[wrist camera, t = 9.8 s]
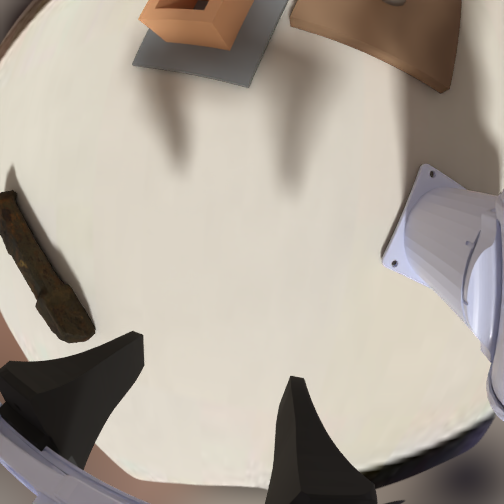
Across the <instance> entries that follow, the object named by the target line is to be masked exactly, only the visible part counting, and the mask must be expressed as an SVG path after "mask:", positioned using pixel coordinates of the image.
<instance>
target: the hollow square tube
mask: <svg viewBox="0 0 504 504" xmlns="http://www.w3.org/2000/svg"><path fill="white" fill-rule="evenodd" d="M197 1H198V0H149V1H148V2H147V4H146V6H145V8H144V9H143V11H142V13H141V15H140V17H139V19H138V20H140V21H141V22H142V23H143V24H145V25H146V26H147V27H149V28H150V29H151V30H152V31H153V32H155V33H156V34H157V35H158V36H160V37H161V38H162V39H163V40H164V41H166V42H171V43H181V44H190V45H198V46H205V47H212V48H218V49H223V50H229V51H230V50H231V47H232V45H233V43H234V41H235V39H236V36H237V34H238V32H239V30H240V28H241V26H242V24H243V22H244V20H245V18H246V15H247V13H248V11H249V9H250V7H251V6H252V4H253V2H254V0H203V1H209V2H208V4H207V6H206V7H205V9H204V10H194V9H193V8H194V6H195V5H196V3H197Z"/></svg>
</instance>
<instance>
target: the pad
mask: <svg viewBox="0 0 504 504" xmlns="http://www.w3.org/2000/svg"><path fill="white" fill-rule="evenodd" d="M288 1H289V0H254V2H253V4H252V6H251V7H250V9H249V11H248V13H247V15H246V18H245V20H244V22H243V24H242V26H241V28H240V30H239V32H238V34H237V36H236V39H235V41H234V43H233V45H232V47H231V50H230V51H229V50H223V49H218V48H212V47H205V46H198V45H190V44H181V43H171V42H166V41H164V40H163V39H162V38H161V37H160V36H158V35H157V34H156V33H155V32H153V31H152V30H151V29H150V28H149V30H148V32H147V34H146V36H145V38H144V40H143V42H142V44H141V46H140V48H139V50H138V52H137V54H136V57H135V59H134V61H133V63H132V65H133V66H139V67H147V68H155V69H162V70H169V71H175V72H181V73H186V74H192V75H197V76H202V77H206V78H211V79H215V80H220V81H224V82H228V83H232V84H236V85H239V86H243V87H247V88H249V86H250V84H251V82H252V79H253V77H254V74H255V72H256V70H257V67H258V65H259V63H260V61H261V58H262V56H263V54H264V51H265V49H266V47H267V45H268V43H269V40H270V38H271V36H272V34H273V32H274V30H275V27H276V25H277V23H278V21H279V19H280V17H281V15H282V13H283V11H284V9H285V7H286V5H287V3H288ZM208 2H209V1H203V0H198V1H197V3H196V5H195V6H194V8H193V9H194V10H204V9H205V7H206V6H207V4H208Z"/></svg>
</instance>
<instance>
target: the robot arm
mask: <svg viewBox="0 0 504 504" xmlns="http://www.w3.org/2000/svg"><path fill="white" fill-rule="evenodd" d="M431 171H432V172H433V177H432V178H431V176H430V172H431ZM394 260H396V264H395V265H394V266H392V265H391V264H392V262H393V261H394ZM382 264H383V265H384V266H385V267H386V268H389V269H391V270H393V271H395V272H397V273H399V274H402V275H404V276H406V277H408V278H410V279H412V280H414V281H417V282H419V283H421V284H423V285H425V286H427V287H429V288H431V289H432V290H433V291H434V292H435V293H436V294H437V295H438V296H439V297H440V298H441V299H442V300H443V301H444V302H445V303H446V304H447V305H448V306H449V307H450V308H451V309H452V310H453V311H454V312H455V313H456V314H457V316H458V317H459V318H460V319H461V320H462V321H463V322H464V323H465V324H466V325H467V327H468V328H469V329H470V330H471V331H472V332H473V333H474V335H475V336H476V337H477V338H478V339H479V340H480V343H481V351H482V352H483V353H484V355H485V356H486V357H487V358H488V360H489V361H490V362H492V363H491V367H490V370H489V373H488V377H487V396H488V400H489V402H490V405H491V407H492V409H493V410H494V412H495V413H496V414H497V416H498V417H499V418H500V419H501V420H503V421H504V189H503V191H502V192H501V193H500V194H499V195H498V196H497V195H492V194H487V193H481V192H476V191H470V190H467V189H465V188H464V187H463V186H461V185H460V184H458V183H457V182H455V181H454V180H452V179H451V178H449V177H448V176H446V175H445V174H443V173H442V172H440V171H439V170H437V169H436V168H434V167H432V166H431V165H429V164H422V165H421V166H420V169H419V171H418V174H417V177H416V180H415V182H414V185H413V188H412V190H411V193H410V195H409V198H408V200H407V203H406V205H405V208H404V210H403V212H402V215H401V217H400V220H399V222H398V224H397V226H396V229H395V231H394V233H393V235H392V238H391V240H390V242H389V244H388V246H387V248H386V250H385V253H384V255H383V257H382ZM143 367H144V345H143V335H142V334H139V333H137V332H134V331H132V332H129V333H127V334H125V335H123V336H120V337H118V338H116V339H114V340H112V341H109V342H107V343H105V344H103V345H100V346H98V347H95V348H93V349H90V350H87V351H85V352H82V353H79V354H76V355H72V356H68V357H64V358H59V359H53V360H47V361H34V362H21V361H9V362H8V363H6V365H4V366H3V367H2V368H0V392H1V394H2V396H3V397H4V399H5V401H6V402H5V403H4V404H3V405H2V403H1V402H0V463H2V465H3V466H4V467H5V468H6V469H7V470H9V472H11V473H12V474H13V475H14V476H15V477H16V478H17V479H18V480H19V481H20V482H21V483H23V484H24V485H25V486H26V487H27V488H28V489H30V490H31V491H32V492H33V493H34V494H36V495H37V498H36V499H35V500H34V501H33V503H32V504H150V503H147V502H145V501H142V500H140V499H138V498H136V497H133V496H131V495H129V494H127V493H125V492H122V491H120V490H118V489H116V488H114V487H112V486H110V485H108V484H106V483H105V482H103V481H101V480H99V479H97V478H95V477H94V476H92V475H90V474H88V473H86V472H85V471H83V470H84V467H85V464H86V462H87V459H88V457H89V454H90V452H91V450H92V448H93V446H94V444H95V441H96V439H97V438H98V436H99V434H100V432H101V430H102V428H103V426H104V424H105V423H106V421H107V419H108V417H109V416H110V414H111V413H112V411H113V410H114V408H115V407H116V406H117V405H118V403H119V402H120V401H121V399H122V398H123V397H124V396H125V394H126V393H127V392H128V390H129V389H130V388H131V387H132V385H133V384H134V383H135V381H136V380H137V378H138V376H139V374H140V373H141V371H142V369H143ZM265 504H377V495H376V490H375V487H374V484H373V483H372V482H371V481H369V480H368V479H367V478H366V477H364V476H363V475H362V474H361V473H360V472H359V471H358V470H356V469H355V468H354V467H353V466H352V465H351V464H350V462H349V461H348V460H347V459H346V458H345V457H344V456H343V454H342V453H341V452H340V451H339V449H338V448H337V447H336V445H335V444H334V443H333V441H332V440H331V438H330V436H329V435H328V433H327V432H326V430H325V428H324V426H323V424H322V422H321V420H320V418H319V416H318V414H317V412H316V410H315V407H314V405H313V403H312V400H311V398H310V395H309V392H308V389H307V386H306V383H305V380H304V378H300V377H294V376H290V378H289V381H288V384H287V386H286V389H285V392H284V394H283V397H282V399H281V402H280V405H279V410H278V415H277V421H276V434H275V450H274V462H273V469H272V474H271V479H270V484H269V489H268V493H267V497H266V502H265Z"/></svg>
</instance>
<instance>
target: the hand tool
mask: <svg viewBox="0 0 504 504" xmlns="http://www.w3.org/2000/svg"><path fill="white" fill-rule="evenodd" d="M16 196H17V193H16V192H14V191H13V190H12V191H6V192H1V193H0V235H1V237H2V239H3V242H4V244H5V246H6V249H7V251H8V254H10V255H12V257H13V259H14V261H15V263H16V265H17V266H18V268H19V270H20V271H21V273H22V275H23V276H24V278H25V280H26V282H27V283H28V285H29V287H30V288H31V291H32V292H33V293H34V295H35V298H36V299H37V303H36V306H35V307H36V309H37V310H38V312H39V313H40V315H41V316H42V317H43V318H44V320H45V321H46V323H47V325H48V326H49V327H50V329H51V331H52V332H53V333H54V334H56V335H57V337H58V338H59V339H60V340H62V341H65V342H67V343H77V342H85V341H87V340H88V339H90V338H91V337H92V336H93V335H94V334H95V329H94V326H93V324H92V322H91V320H90V318H89V317H88V315H87V313H86V311H85V309H84V308H83V307H82V305H81V304H80V302H79V300H78V299H77V297H76V295H75V293H74V292H73V290H72V288H71V287H70V286H69V285H66V284H64V283H63V282H62V281H61V280H60V279H59V278H58V276H57V275H56V273H55V272H54V270H53V269H52V267H51V265H50V263H49V262H48V260H47V258H46V256H45V254H44V253H43V251H42V250H41V249H40V247H39V245H38V244H37V242H36V240H35V239H34V237H33V235H32V233H31V231H30V229H29V227H28V226H27V224H26V222H25V220H24V217H23V216H22V213H21V211H20V210H19V208H18V206H17V204H16V202H15V199H16Z"/></svg>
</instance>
